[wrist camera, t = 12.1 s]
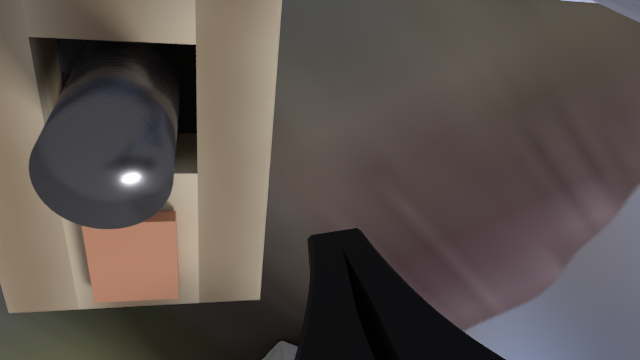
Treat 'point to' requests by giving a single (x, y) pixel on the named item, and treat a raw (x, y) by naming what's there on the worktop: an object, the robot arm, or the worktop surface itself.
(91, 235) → the latch flap
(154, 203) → the steel peg
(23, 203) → the hitch block
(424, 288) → the worktop surface
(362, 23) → the worktop surface
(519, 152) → the worktop surface
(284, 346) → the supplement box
